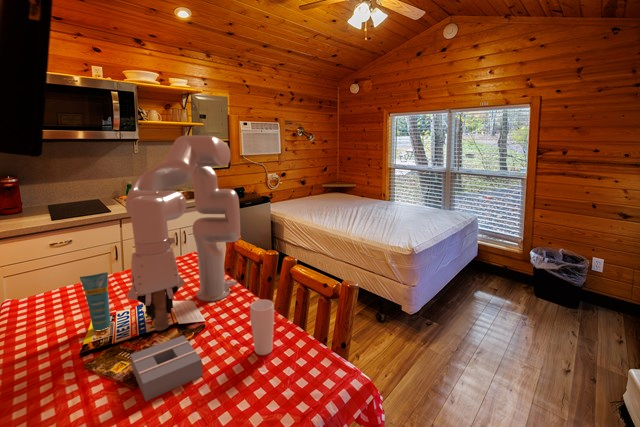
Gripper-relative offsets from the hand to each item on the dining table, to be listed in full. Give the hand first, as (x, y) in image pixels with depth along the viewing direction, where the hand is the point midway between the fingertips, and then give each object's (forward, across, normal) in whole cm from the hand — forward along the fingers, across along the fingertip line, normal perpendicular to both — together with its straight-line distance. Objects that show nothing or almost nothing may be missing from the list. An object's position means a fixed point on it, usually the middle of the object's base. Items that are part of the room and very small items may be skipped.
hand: (160, 313), depth 87 cm
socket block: (+18, 0, 0) cm, 18 cm away
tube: (+18, +10, -36) cm, 42 cm away
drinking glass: (+18, -25, +8) cm, 32 cm away
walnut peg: (+4, 0, 0) cm, 4 cm away
